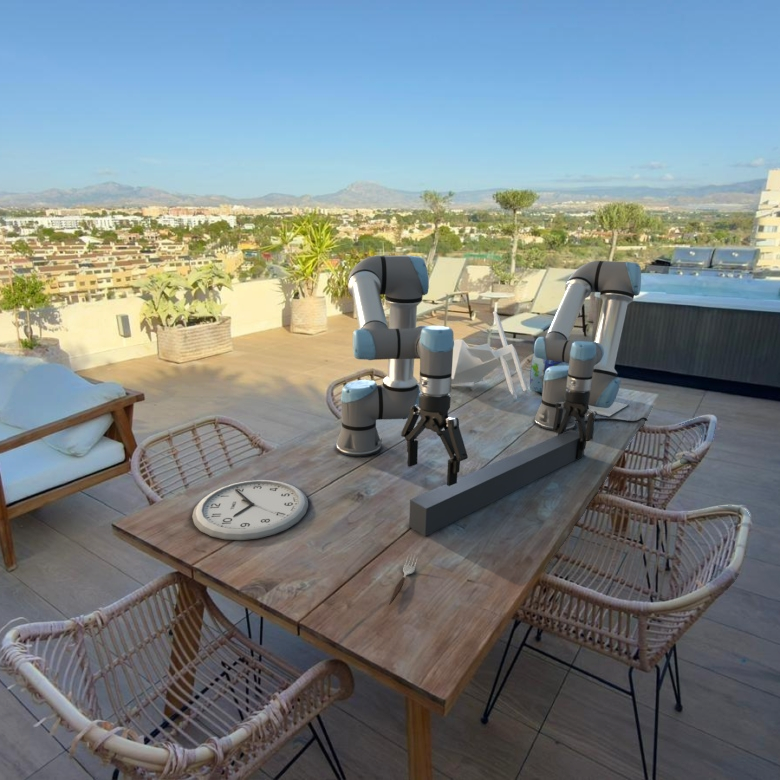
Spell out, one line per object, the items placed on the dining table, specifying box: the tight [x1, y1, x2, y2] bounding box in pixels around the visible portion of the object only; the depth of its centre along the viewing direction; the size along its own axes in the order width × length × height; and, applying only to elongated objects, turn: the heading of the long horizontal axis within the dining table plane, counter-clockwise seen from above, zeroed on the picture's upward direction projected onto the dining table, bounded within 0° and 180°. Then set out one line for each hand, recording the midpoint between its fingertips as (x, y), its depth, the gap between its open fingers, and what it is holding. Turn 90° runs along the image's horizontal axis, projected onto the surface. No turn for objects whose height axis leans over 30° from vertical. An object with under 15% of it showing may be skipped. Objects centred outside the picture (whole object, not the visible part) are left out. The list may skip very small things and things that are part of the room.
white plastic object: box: [451, 310, 531, 400], centre depth 245 cm, size 37×45×31 cm
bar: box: [408, 429, 585, 537], centre depth 154 cm, size 76×6×8 cm, turn 131°
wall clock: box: [191, 479, 309, 541], centre depth 140 cm, size 30×2×30 cm
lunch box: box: [529, 354, 569, 394], centre depth 245 cm, size 26×11×21 cm, turn 134°
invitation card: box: [588, 401, 629, 418], centre depth 226 cm, size 21×1×15 cm
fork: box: [388, 554, 419, 606], centre depth 112 cm, size 3×16×2 cm, turn 160°
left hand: (431, 474), depth 129 cm, fingers open, 13 cm apart
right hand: (569, 454), depth 176 cm, fingers closed on bar, 6 cm apart
